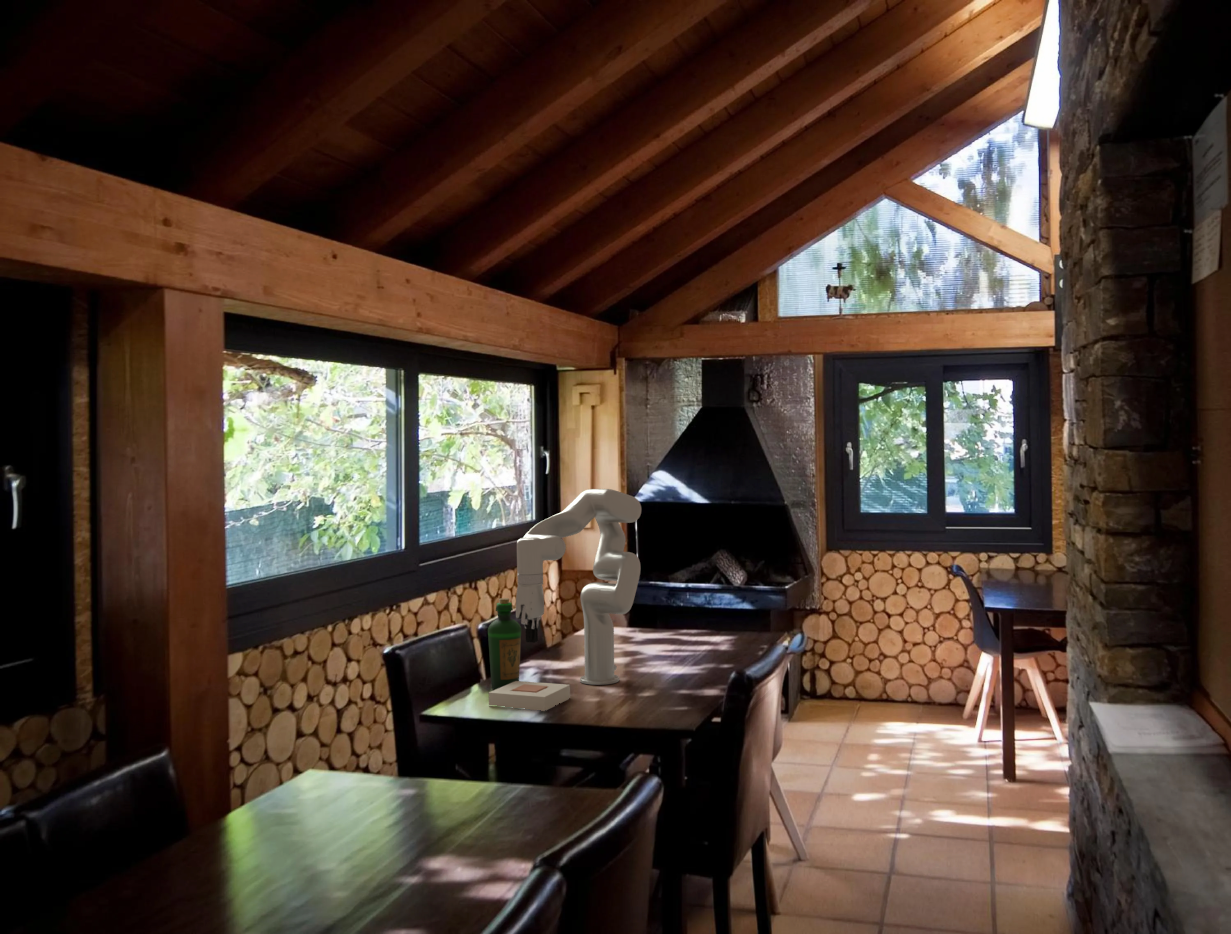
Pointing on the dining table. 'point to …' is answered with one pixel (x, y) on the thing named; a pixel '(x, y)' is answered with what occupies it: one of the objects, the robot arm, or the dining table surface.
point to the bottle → (504, 646)
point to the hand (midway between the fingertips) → (531, 641)
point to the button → (530, 688)
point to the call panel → (530, 696)
